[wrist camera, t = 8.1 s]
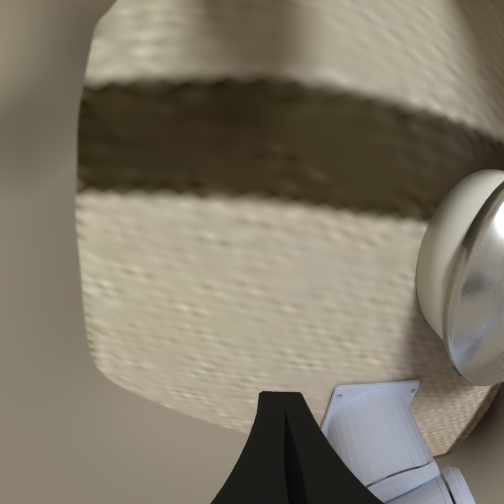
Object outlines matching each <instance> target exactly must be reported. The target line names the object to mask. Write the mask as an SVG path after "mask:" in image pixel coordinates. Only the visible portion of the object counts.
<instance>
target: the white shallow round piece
mask: <svg viewBox="0 0 504 504" xmlns="http://www.w3.org/2000/svg"><path fill="white" fill-rule="evenodd" d="M503 181H504V171H502V170H496V169H485V170H479V171H477V172H474V173H471V174H470V175H468V176H466V177H465V178H463V179H462V180H460V181H459V182H458V183H457V184H456V185H455V186H454V187H453V188H452V189H451V190H450V191H449V192H448V193H447V194H446V196H445V197H444V198H443V200H442V201H441V202H440V204H439V206H438V207H437V209H436V211H435V212H434V214H433V216H432V218H431V220H430V222H429V225H428V227H427V229H426V232H425V235H424V238H423V241H422V244H421V248H420V252H419V257H418V263H417V272H416V291H417V297H418V302H419V306H420V309H421V312H422V314H423V316H424V318H425V319H426V321H427V322H428V324H429V325H430V326H431V327H432V329H433V330H434V331H435V332H436V333H437V334H438V336H439V337H440V338H441V339H442V340H443V334H442V318H443V307H444V301H445V295H446V291H447V286H448V282H449V278H450V275H451V272H452V269H453V265H454V262H455V259H456V257H457V254H458V252H459V249H460V246H461V244H462V242H463V240H464V238H465V235H466V233H467V231H468V229H469V227H470V225H471V223H472V222H473V220H474V218H475V216H476V214H477V213H478V211H479V210H480V208H481V207H482V205H483V204H484V202H485V201H486V199H487V198H488V197H489V196H490V194H491V193H492V192H493V191H494V189H496V188H497V187H498V186H499V185H500V184H501V183H502V182H503ZM452 368H453V369H454V370H455V372H456V373H457V374H458V376H462V375H461V374H460V373H459V371H458V370H457V369H456V367H455V366H454V365H453V367H452Z"/></svg>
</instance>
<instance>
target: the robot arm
mask: <svg viewBox="0 0 504 504" xmlns="http://www.w3.org/2000/svg"><path fill="white" fill-rule="evenodd" d="M419 386H420V382H419V381H418V380H408V381H398V382H387V383H373V384H355V385H339V386H337V387H335V389H334V391H333V394H332V397H331V400H330V403H329V406H328V409H327V412H326V415H325V417H324V420H323V423H322V426H321V429H320V427H319V426H318V424H317V422H316V420H315V419H314V417H313V415H312V413H311V411H310V409H309V407H308V405H307V403H306V401H305V399H304V397H303V395H302V394H301V393H300V392H272V391H262V392H261V393H259V399H258V407H257V414H256V417H255V421H254V424H253V427H252V429H251V432H250V435H249V437H248V440H247V442H246V445H245V447H244V449H243V451H242V453H241V455H240V457H239V459H238V461H237V463H236V465H235V467H234V469H233V470H232V472H231V474H230V475H229V477H228V479H227V480H226V482H225V484H224V485H223V487H222V488H221V490H220V491H219V493H218V494H217V495H216V497H215V498H214V500H213V501H212V502H211V504H475V502H474V499H473V497H472V495H471V493H470V490H469V488H468V486H467V484H466V482H465V480H464V478H463V476H462V474H461V472H460V470H459V469H458V468H455V467H452V468H451V467H450V466H447V467H445V468H443V469H442V471H443V473H444V475H445V478H446V482H447V485H448V487H449V489H448V487H447V485H446V482H445V480H444V478H443V476H442V473H441V472H440V470H439V468H438V466H437V464H436V462H435V461H434V459H433V457H432V455H431V453H430V450H429V448H428V446H427V444H426V442H425V440H424V438H423V436H422V434H421V431H420V429H419V427H418V425H417V423H416V421H415V419H414V417H413V415H412V413H411V411H410V409H409V406H410V404H411V402H412V400H413V398H414V396H415V394H416V392H417V390H418V388H419ZM337 395H339V396H337ZM449 490H450V491H449Z"/></svg>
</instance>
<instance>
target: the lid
mask: <svg viewBox="0 0 504 504" xmlns="http://www.w3.org/2000/svg"><path fill="white" fill-rule="evenodd" d="M442 334H443V342H444V347H445V350H446V353H447V355H448V357H449V359H450V360H451V362H452V363H453V365H454V366H455V367H456V369H457V370H458V371H459V373H460V374H461V375H462V376H463V377H464V378H465V379H466V380H467V381H468V382H470V383H472V384H474V385H478V386H490V385H495V384H498V383H501V382H503V381H504V181H503V182H502V183H501V184H500V185H499V186H498V187H497V188H496V189H494V191H493V192H492V193H491V194H490V196H489V197H488V198H487V199H486V201H485V202H484V204H483V205H482V207H481V208H480V210H479V211H478V213H477V214H476V216H475V218H474V220H473V222H472V223H471V225H470V227H469V229H468V231H467V233H466V235H465V238H464V240H463V242H462V244H461V246H460V249H459V252H458V254H457V257H456V259H455V262H454V265H453V269H452V272H451V275H450V278H449V282H448V286H447V291H446V295H445V301H444V307H443V318H442Z"/></svg>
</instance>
